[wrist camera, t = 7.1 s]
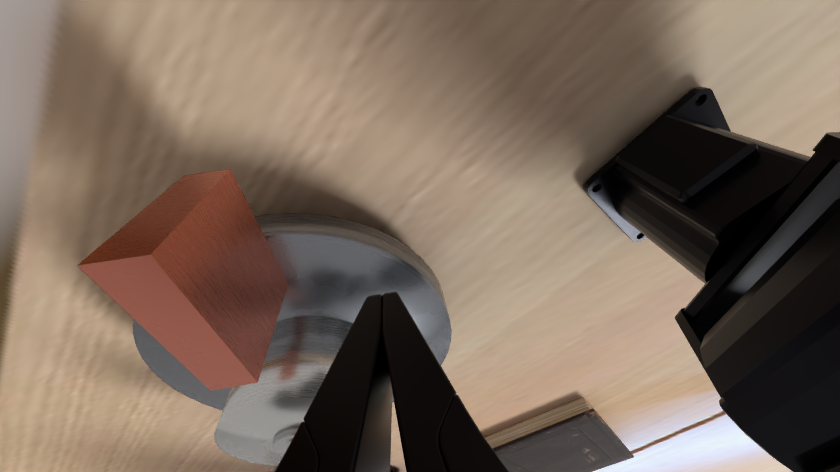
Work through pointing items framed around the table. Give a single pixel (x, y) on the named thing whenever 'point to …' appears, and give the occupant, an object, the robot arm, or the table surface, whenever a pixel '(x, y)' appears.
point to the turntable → (247, 281)
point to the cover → (280, 389)
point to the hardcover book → (559, 442)
